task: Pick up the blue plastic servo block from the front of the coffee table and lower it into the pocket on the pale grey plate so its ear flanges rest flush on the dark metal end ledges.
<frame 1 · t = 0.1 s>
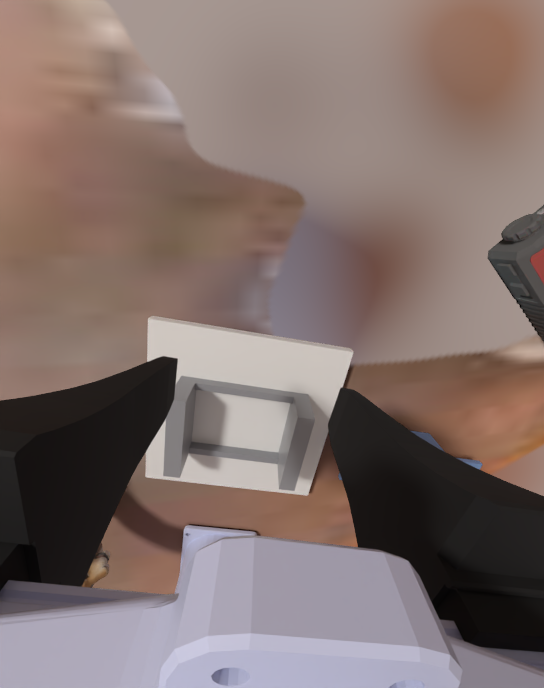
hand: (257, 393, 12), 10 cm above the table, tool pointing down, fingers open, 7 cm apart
servo block: (392, 443, 26), on the table
pocket plate: (240, 414, 24), on the table
lion figurine: (87, 467, 26), on the table
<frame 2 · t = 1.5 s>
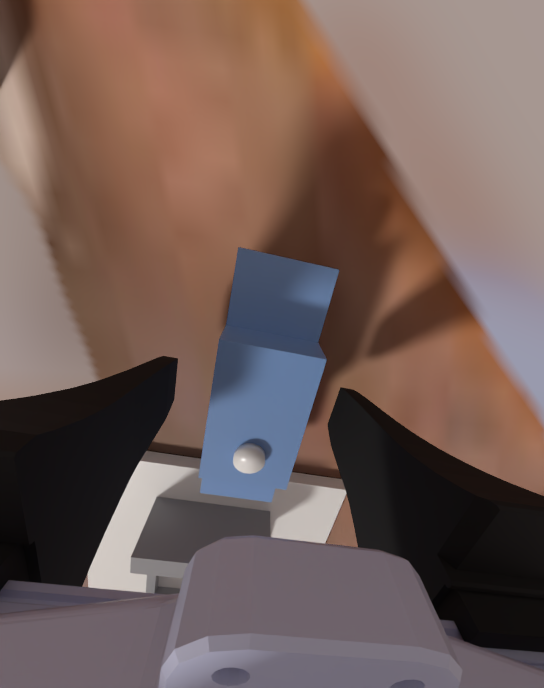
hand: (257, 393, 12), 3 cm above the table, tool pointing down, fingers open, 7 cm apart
servo block: (259, 364, 14), on the table
pocket plate: (207, 544, 19), on the table
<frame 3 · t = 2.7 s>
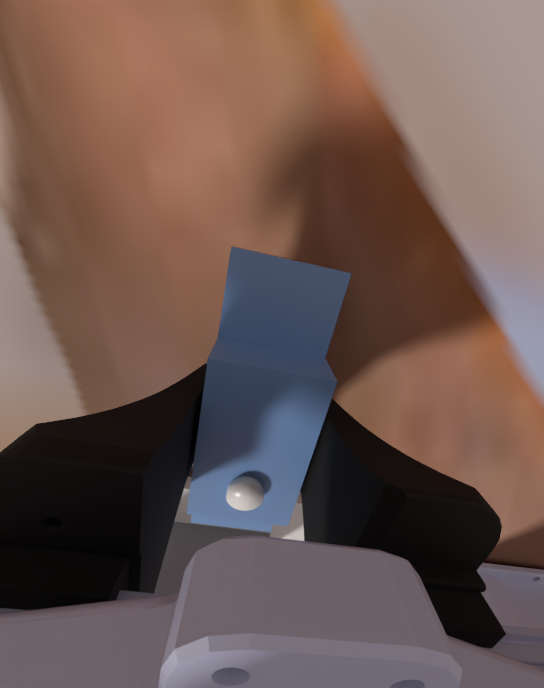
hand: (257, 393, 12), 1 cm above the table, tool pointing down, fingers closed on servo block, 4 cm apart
servo block: (258, 377, 13), on the table, touching gripper
pocket plate: (201, 566, 18), on the table
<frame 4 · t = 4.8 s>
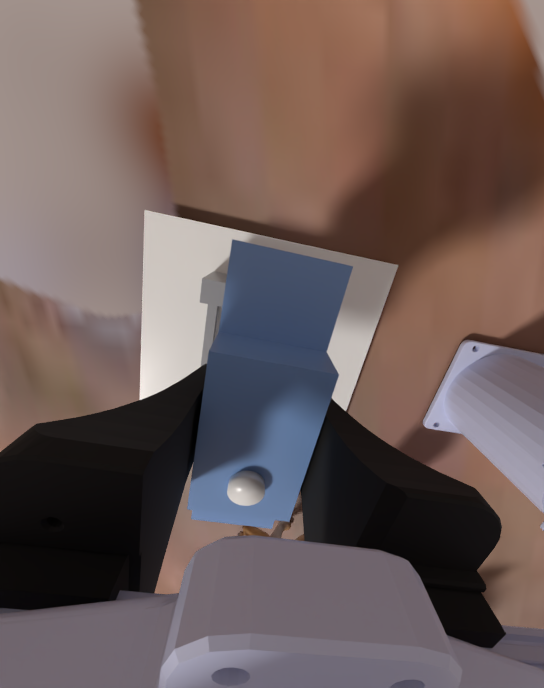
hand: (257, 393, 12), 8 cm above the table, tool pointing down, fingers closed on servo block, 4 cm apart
servo block: (258, 373, 13), point 7 cm above the table, touching gripper
pocket plate: (255, 350, 20), on the table
lion figurine: (305, 498, 26), on the table
when the fingers open (4 cm above the table, at t = 6.5 s): servo block drops 2 cm, resting on pocket plate.
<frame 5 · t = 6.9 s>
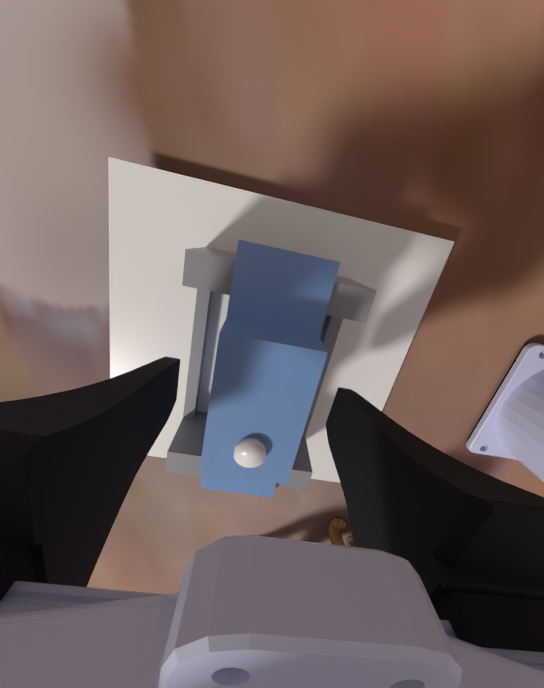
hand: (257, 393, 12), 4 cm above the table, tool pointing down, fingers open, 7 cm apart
servo block: (260, 360, 14), point 1 cm above the table, touching pocket plate
pocket plate: (259, 354, 15), on the table
lion figurine: (310, 534, 22), on the table
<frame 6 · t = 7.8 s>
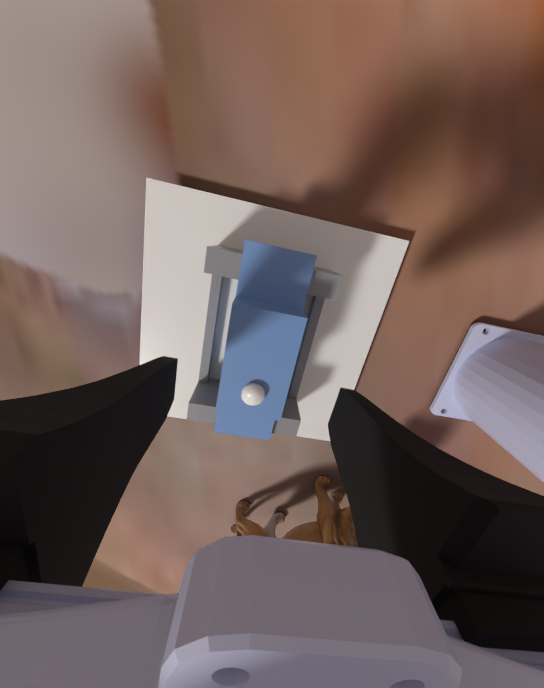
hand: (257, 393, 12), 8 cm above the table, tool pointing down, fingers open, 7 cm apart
servo block: (259, 334, 18), point 1 cm above the table, touching pocket plate
pocket plate: (259, 331, 19), on the table
lion figurine: (299, 491, 26), on the table
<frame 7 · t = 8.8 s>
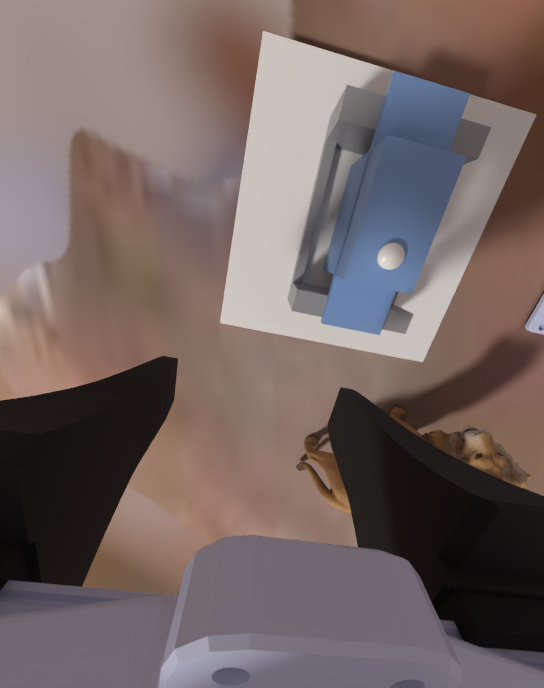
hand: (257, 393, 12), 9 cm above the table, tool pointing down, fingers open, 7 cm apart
servo block: (363, 227, 17), point 1 cm above the table, touching pocket plate
pocket plate: (355, 231, 18), on the table
lion figurine: (370, 426, 24), on the table
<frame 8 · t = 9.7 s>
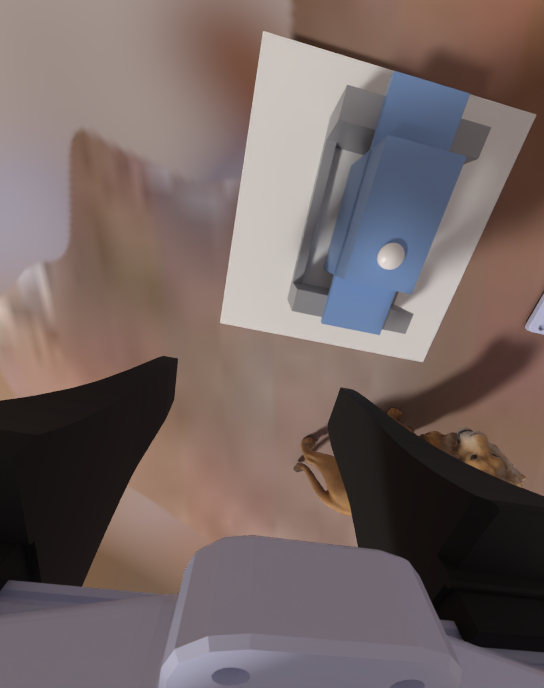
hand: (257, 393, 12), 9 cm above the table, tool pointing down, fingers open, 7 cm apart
servo block: (363, 227, 17), point 1 cm above the table, touching pocket plate
pocket plate: (355, 231, 18), on the table
lion figurine: (367, 427, 24), on the table
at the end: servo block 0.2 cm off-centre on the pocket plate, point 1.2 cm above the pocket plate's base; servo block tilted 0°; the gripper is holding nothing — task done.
